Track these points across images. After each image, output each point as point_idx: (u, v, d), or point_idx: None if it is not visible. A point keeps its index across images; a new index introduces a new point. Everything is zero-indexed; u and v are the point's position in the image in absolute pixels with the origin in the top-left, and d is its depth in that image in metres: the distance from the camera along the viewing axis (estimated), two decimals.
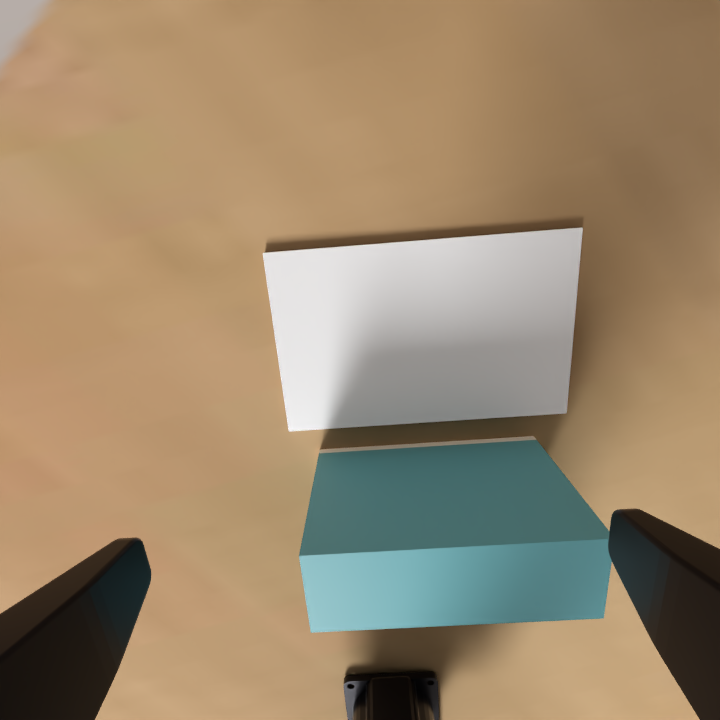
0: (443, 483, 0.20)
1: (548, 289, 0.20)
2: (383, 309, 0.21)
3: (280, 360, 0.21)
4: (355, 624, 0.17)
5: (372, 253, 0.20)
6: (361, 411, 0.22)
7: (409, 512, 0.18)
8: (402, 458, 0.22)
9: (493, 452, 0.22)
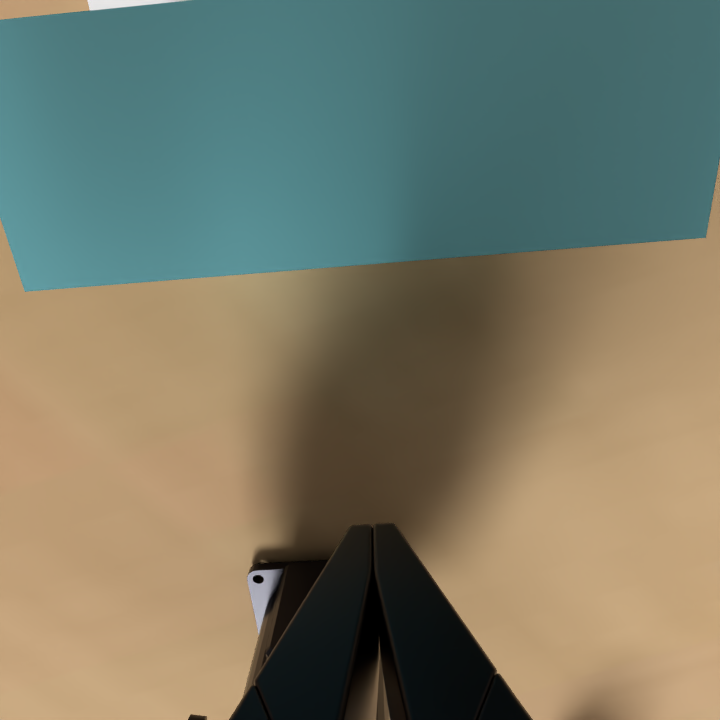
0: None
1: None
2: None
3: None
4: (123, 263, 0.07)
5: None
6: None
7: None
8: None
9: None
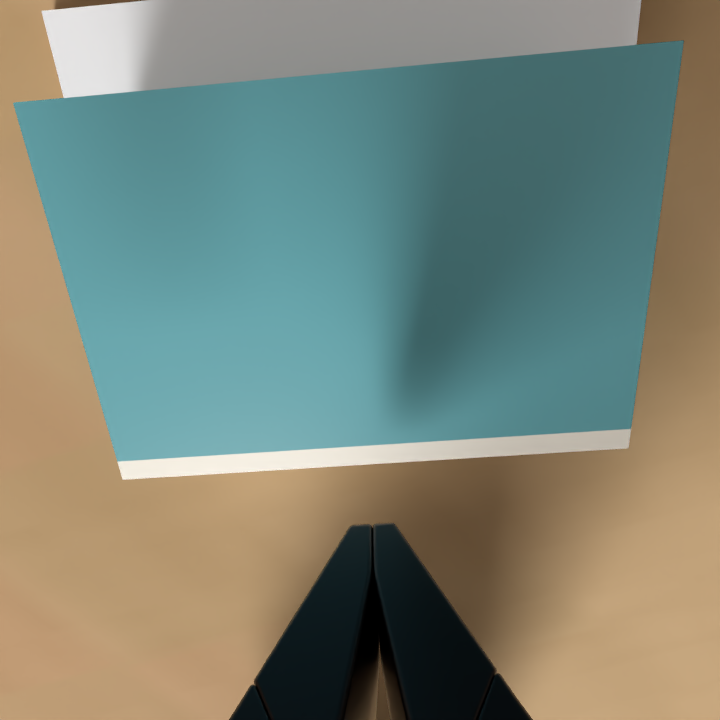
0: None
1: None
2: None
3: None
4: (125, 98, 0.08)
5: (247, 10, 0.10)
6: None
7: None
8: None
9: None
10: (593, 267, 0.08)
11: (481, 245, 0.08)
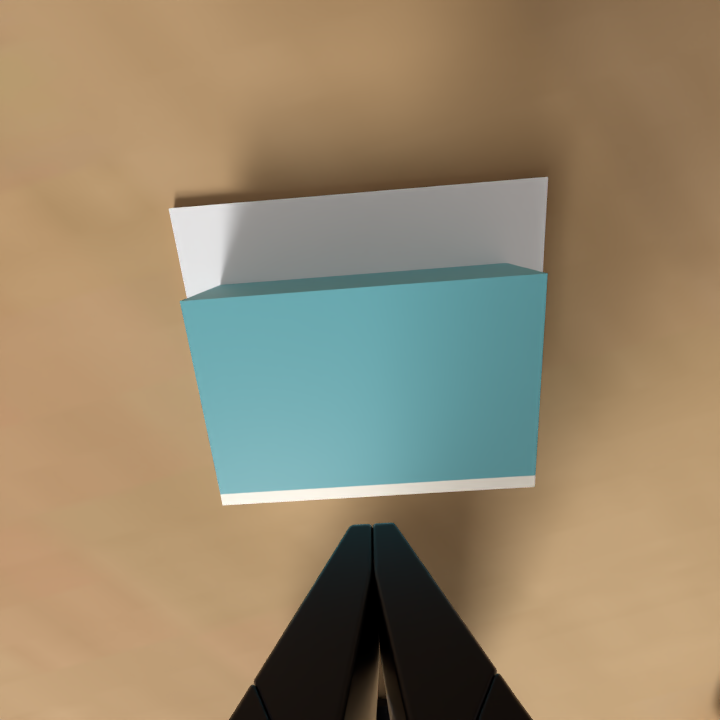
0: None
1: (509, 252, 0.17)
2: (315, 276, 0.17)
3: None
4: (239, 295, 0.14)
5: (299, 208, 0.17)
6: None
7: None
8: None
9: None
10: (506, 385, 0.14)
11: (441, 373, 0.14)
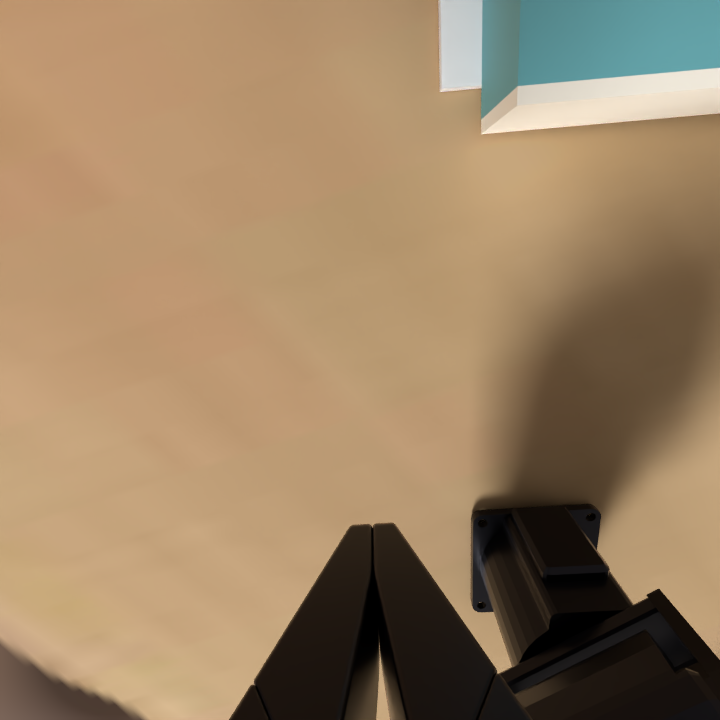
0: None
1: None
2: None
3: None
4: None
5: None
6: None
7: None
8: None
9: None
10: None
11: None
